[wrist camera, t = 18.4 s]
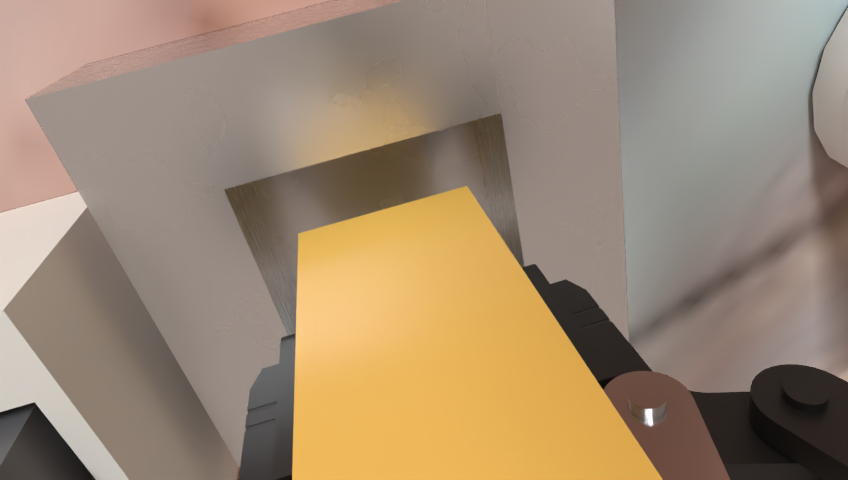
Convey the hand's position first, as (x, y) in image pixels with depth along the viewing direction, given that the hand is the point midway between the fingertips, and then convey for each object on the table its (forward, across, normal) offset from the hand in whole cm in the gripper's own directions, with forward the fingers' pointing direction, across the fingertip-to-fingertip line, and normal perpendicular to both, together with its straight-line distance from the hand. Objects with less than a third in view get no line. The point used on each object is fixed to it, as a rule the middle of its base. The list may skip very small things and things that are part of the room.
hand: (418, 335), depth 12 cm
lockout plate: (+6, 0, 0) cm, 6 cm away
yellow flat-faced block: (+2, 0, 0) cm, 2 cm away
